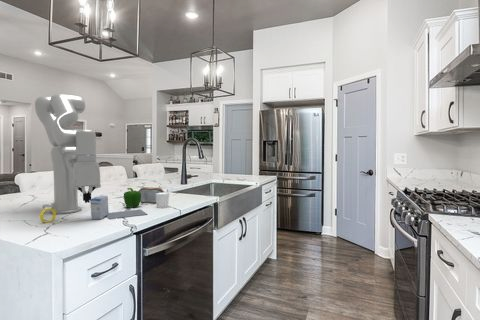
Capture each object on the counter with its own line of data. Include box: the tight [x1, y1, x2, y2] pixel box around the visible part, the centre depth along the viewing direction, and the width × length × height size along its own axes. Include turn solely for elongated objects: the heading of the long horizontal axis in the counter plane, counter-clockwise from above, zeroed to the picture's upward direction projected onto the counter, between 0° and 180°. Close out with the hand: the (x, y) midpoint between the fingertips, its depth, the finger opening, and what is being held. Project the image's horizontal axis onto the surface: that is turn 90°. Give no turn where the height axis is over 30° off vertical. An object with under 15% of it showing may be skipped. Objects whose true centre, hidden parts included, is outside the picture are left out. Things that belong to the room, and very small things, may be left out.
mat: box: [105, 209, 148, 220], centre depth 132 cm, size 16×12×1 cm
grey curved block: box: [138, 186, 164, 204], centre depth 160 cm, size 15×3×8 cm, turn 84°
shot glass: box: [155, 192, 170, 209], centre depth 149 cm, size 7×7×7 cm
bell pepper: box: [123, 187, 141, 209], centre depth 149 cm, size 8×8×10 cm
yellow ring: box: [39, 207, 57, 224], centre depth 118 cm, size 6×3×6 cm, turn 161°
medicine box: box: [89, 195, 110, 220], centre depth 126 cm, size 8×4×9 cm, turn 5°
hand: (87, 202), depth 123 cm, fingers closed
